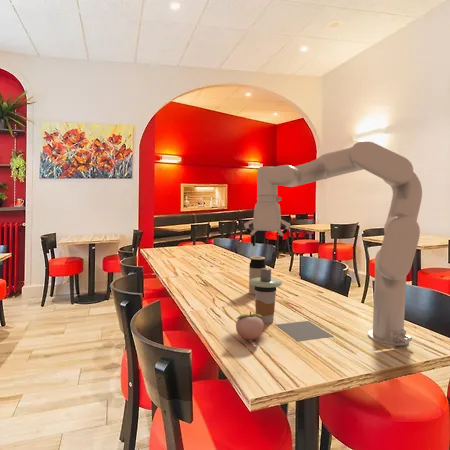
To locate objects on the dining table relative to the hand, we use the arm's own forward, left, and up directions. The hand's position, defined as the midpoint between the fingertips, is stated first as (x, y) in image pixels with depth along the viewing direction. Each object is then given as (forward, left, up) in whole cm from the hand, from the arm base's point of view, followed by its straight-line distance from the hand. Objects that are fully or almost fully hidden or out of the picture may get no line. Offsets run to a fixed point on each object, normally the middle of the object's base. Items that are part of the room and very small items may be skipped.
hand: (266, 246), depth 132 cm
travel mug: (+39, -14, -30) cm, 51 cm away
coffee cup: (0, 0, -30) cm, 30 cm away
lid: (0, 0, -14) cm, 14 cm away
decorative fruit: (-15, +13, -30) cm, 35 cm away
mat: (-13, -9, -29) cm, 33 cm away
